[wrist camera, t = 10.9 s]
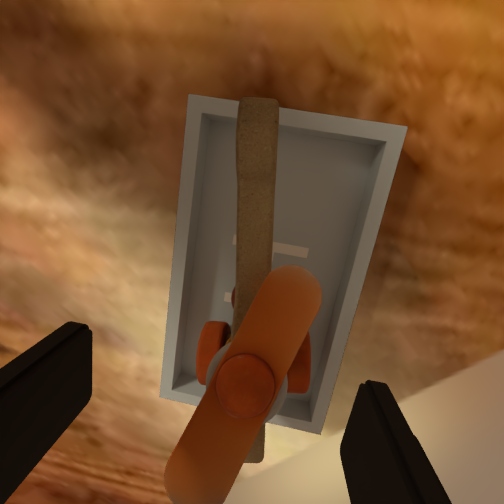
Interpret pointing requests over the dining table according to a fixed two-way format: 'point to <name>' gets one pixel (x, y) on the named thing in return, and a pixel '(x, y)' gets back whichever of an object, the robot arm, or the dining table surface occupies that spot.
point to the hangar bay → (277, 235)
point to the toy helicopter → (247, 332)
